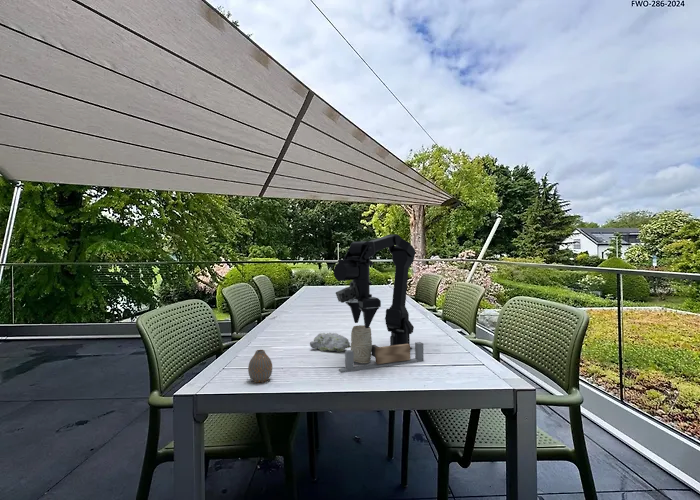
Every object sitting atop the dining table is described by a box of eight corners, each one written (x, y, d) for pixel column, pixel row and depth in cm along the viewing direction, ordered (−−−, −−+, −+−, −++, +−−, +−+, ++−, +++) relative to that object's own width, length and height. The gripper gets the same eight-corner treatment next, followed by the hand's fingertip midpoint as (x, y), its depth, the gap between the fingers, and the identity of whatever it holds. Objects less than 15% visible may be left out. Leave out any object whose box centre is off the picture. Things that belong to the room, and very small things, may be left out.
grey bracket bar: (420, 359, 128) (419, 341, 128) (423, 361, 125) (423, 343, 125) (338, 370, 117) (338, 351, 117) (341, 372, 115) (341, 353, 115)
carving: (376, 362, 125) (375, 326, 125) (358, 366, 120) (357, 329, 120) (365, 357, 130) (364, 323, 130) (347, 362, 126) (346, 326, 126)
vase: (250, 376, 113) (250, 347, 112) (273, 375, 113) (273, 347, 113) (246, 385, 106) (245, 354, 106) (270, 384, 106) (270, 353, 106)
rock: (355, 349, 141) (355, 332, 141) (347, 355, 134) (347, 336, 134) (319, 346, 147) (318, 329, 147) (310, 350, 141) (309, 333, 141)
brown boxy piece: (400, 354, 130) (400, 340, 130) (410, 359, 124) (410, 344, 124) (369, 358, 126) (369, 343, 126) (377, 364, 120) (377, 348, 120)
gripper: (329, 277, 131) (330, 322, 131) (348, 282, 113) (348, 333, 113) (358, 276, 135) (359, 319, 135) (381, 280, 117) (381, 330, 117)
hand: (361, 325), depth 125 cm, fingers open, 9 cm apart
